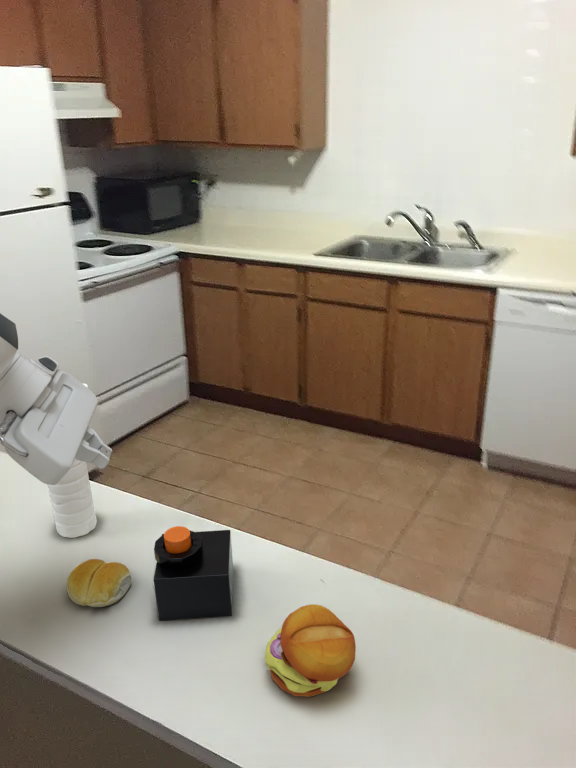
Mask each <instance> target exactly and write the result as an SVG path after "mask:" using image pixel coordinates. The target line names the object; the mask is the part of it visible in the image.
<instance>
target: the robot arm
mask: <svg viewBox="0 0 576 768" xmlns="http://www.w3.org/2000/svg"><path fill="white" fill-rule="evenodd" d="M18 350H19V336H18V331H17V325H16V323H15V322H14V321H12V320H11V319H9V318H8V317H6V316H4V314H2V313H0V445H1V446H3V447H4V450H5V452H6V454H7V455H8V456H9V457H10V458H11V459H12V460H13V461H14V462H16V463H17V464H18V465H19V466H20V467H21V468H23V469H25V470H24V471H26V472H28V473H29V474H30V475H31V476H33V477H34V478H35V479H37V480H38V481H40V482H41V483H42V484H44V485H47V484H49V485H55V484H57V483H58V482H59V481H60V480H61V479H62V478H63V477H64V475H65V474H66V473H67V472H68V471H69V470H70V468H71V466H72V464H73V461H74V459H77V460H80V461H84V462H86V463H88V464H92V465H93V466H94V467H96V468H97V469H99V470H104V469H105V468H106V467H107V466H108V465H109V463H110V460H111V457H112V455H113V449H112V448H111V447H110V446H109V445H107V444H106V443H104V441H103V440H102V439H101V437H100V436H99V435H98V433H97V432H96V430H95V429H93V428H92V427H90V426H89V425H90V423H91V421H92V418H93V416H94V413H95V411H96V409H97V407H98V405H99V400H98V398H97V396H96V395H95V393H94V392H93V391H91V389H90V388H89V387H88V388H87V387H86V386H85V385H83V384H82V383H83V382H82V381H80V380H79V379H77V378H76V377H75V376H73V375H72V374H71V373H70V372H67V371H66V370H64V369H61V368H59V367H60V364H59V363H60V362H58V361H57V360H56V359H54V358H53V357H51V356H50V355H43V356H40V357H36V358H35V357H34V358H29V359H28V358H27V357H25V355H23V354H21V353H20V352H18Z"/></svg>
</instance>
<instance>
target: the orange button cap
mask: <svg viewBox="0 0 576 768" xmlns="http://www.w3.org/2000/svg"><path fill="white" fill-rule="evenodd" d="M189 530H190V529H189V528H188V527H186V526H183V525H177V526H172V527H170V528H168V529H166V530H165V532H164V533H163V534H164V542H165V549H166V551H167V552H170V553H182V552H185V551H187V550H189V549H190V547H191V536H190V531H191V530H190V531H189Z"/></svg>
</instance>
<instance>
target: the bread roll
mask: <svg viewBox="0 0 576 768" xmlns="http://www.w3.org/2000/svg"><path fill="white" fill-rule="evenodd" d="M132 581H133V578H132V574H131V570H130V569H129V568H128V567H127V565H126V564H123V563H122V562H116V561H110V562H106V561H105V560H102V559H99V558H91V559H87V560H85V561H83V562H81V563H79V564H78V565H76V566H75V567H74V568H73V569H72V570H71V571H70V573H69V575H68V577H67V581H66V591H67V594H68V597H69V598H70V600H71V601H72V602H73V603H75V604H76V605H79V606H83V607H84V606H89V607H90V608H103V607H108V606H110V605H112V604H114V603H116V602H118V601H119V600H120V599H121V598H122V597H123V596H124V595H126V593H127V591H128V590H129V588H130V587H131V585H132Z"/></svg>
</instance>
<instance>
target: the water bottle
mask: <svg viewBox="0 0 576 768" xmlns="http://www.w3.org/2000/svg"><path fill="white" fill-rule="evenodd" d="M81 383H82V384H83V385H85V386H86V387H87V388H88V389H89V386H88V385H89V384H87V383H83V382H81ZM88 471H89V470H88V464H87V462H84V461H80V460H77V459H74V461H73V464H72V466H71V468H70V470H69V471H68V472H67V473H66V474H65V475H64V477H63V478H62V479H61V480H60V481H59V482H58V483H57V484H55V485H49V484H46V485H47V489H48V494H49V498H50V504H51V507H52V514H53V517H54V523H55V528H56V532H57V533H58V535H59V536H61V537H63V538H71V539H73V538H79V537H83V536H86V535H87V534H89V533H90V532H92V531H93V530H94V529H95V528H96V526H97V523H98V521H97V513H96V510H95V504H94V500H93V493H92V489H91V488H92V487H91V482H90V477H89V472H88Z"/></svg>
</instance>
